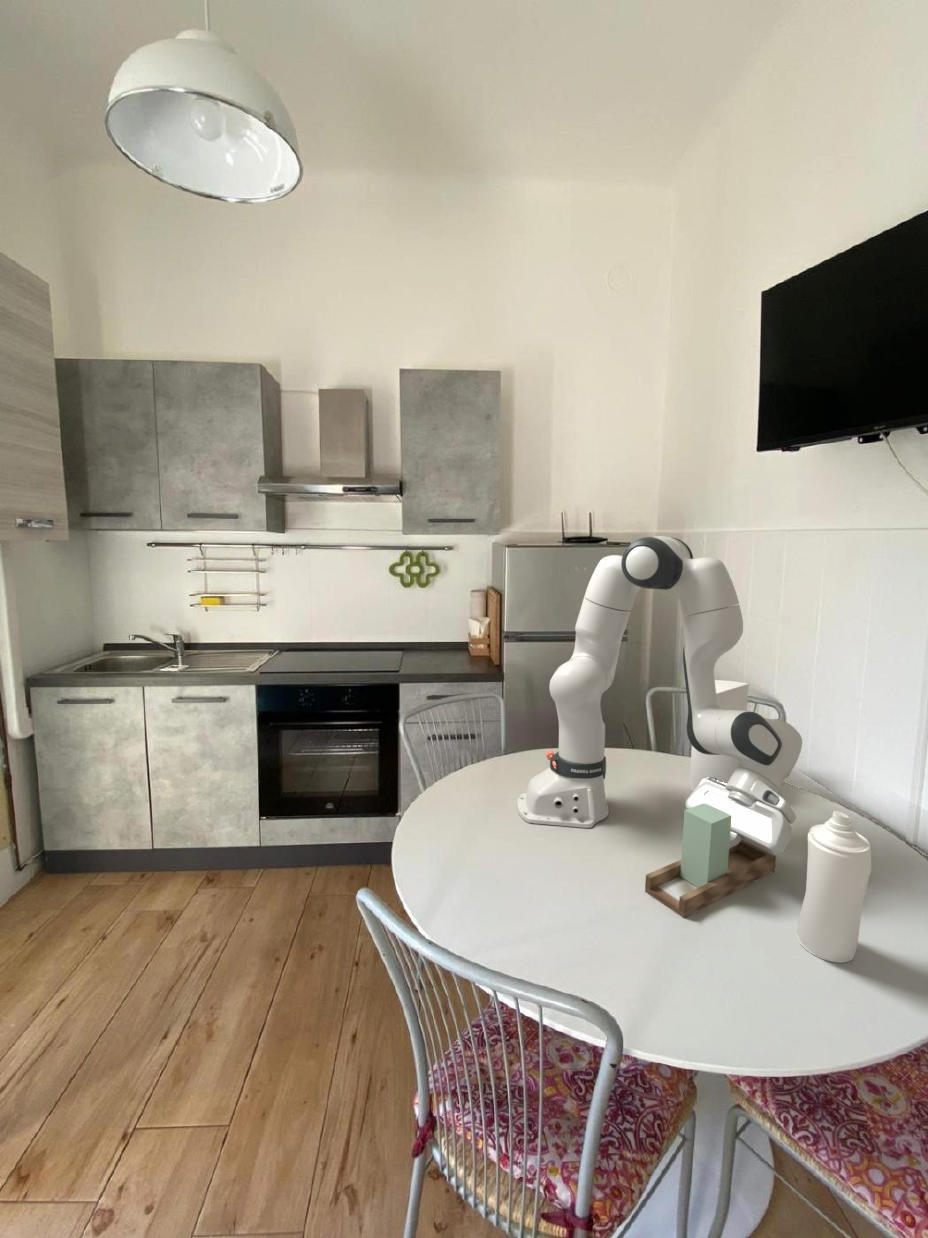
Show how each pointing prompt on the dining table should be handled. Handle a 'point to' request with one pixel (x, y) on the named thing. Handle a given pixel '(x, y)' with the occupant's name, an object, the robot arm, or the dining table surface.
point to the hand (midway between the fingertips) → (716, 850)
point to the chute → (688, 898)
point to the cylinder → (719, 765)
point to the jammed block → (705, 844)
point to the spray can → (834, 889)
